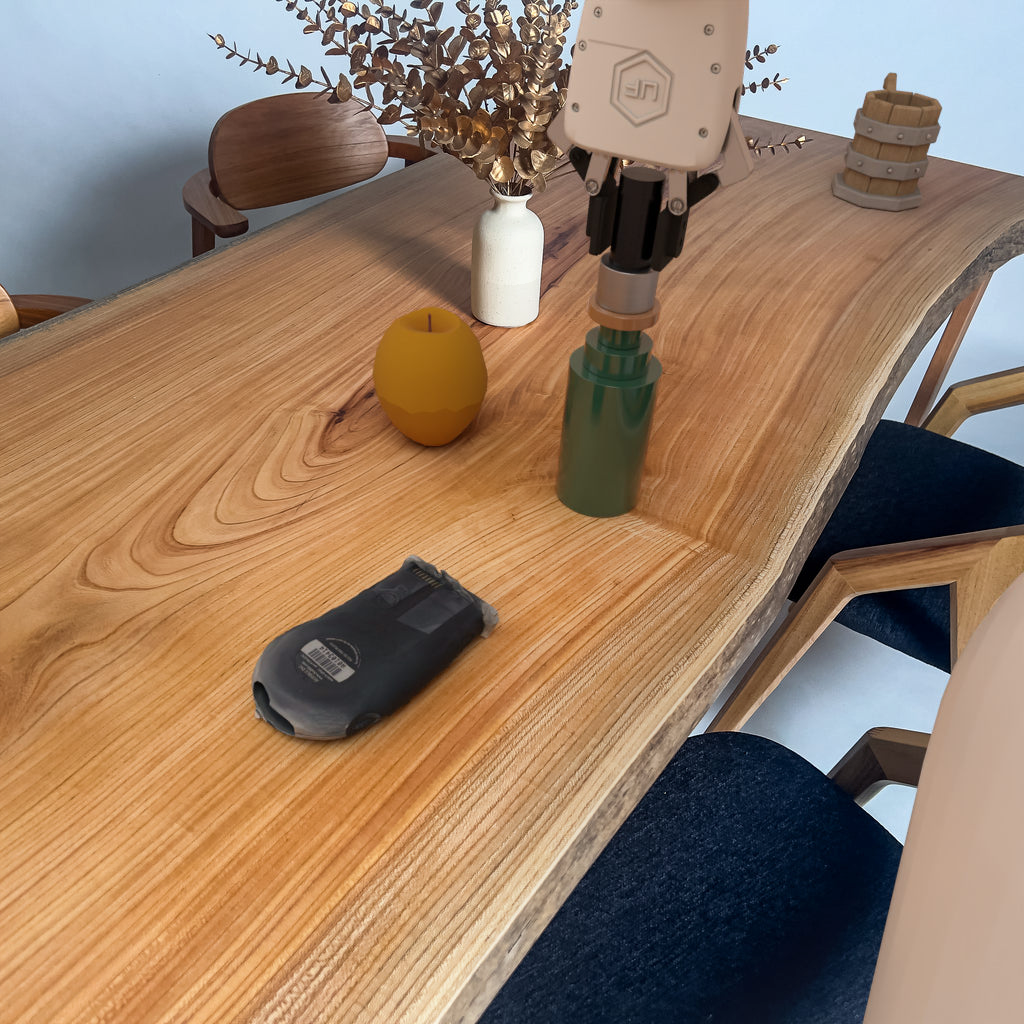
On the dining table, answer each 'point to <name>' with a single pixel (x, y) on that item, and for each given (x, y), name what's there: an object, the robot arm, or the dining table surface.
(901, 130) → the tankard
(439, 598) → the electronic device
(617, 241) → the torch
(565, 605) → the dining table surface
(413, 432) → the apple
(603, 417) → the bottle
